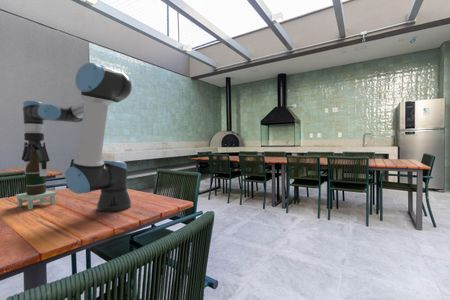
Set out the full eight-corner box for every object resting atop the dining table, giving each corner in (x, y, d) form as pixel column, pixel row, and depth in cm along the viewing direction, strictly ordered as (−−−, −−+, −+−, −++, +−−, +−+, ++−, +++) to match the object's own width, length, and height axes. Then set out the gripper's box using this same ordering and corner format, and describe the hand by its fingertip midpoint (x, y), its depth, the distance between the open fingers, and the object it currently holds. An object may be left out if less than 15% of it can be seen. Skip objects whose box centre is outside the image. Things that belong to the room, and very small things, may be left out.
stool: (56, 203, 119) (56, 192, 119) (28, 210, 108) (28, 197, 108) (43, 200, 124) (43, 189, 124) (15, 206, 114) (15, 194, 113)
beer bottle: (22, 194, 113) (20, 146, 112) (37, 191, 121) (36, 145, 119) (35, 195, 112) (33, 146, 110) (50, 192, 119) (48, 145, 118)
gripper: (57, 132, 113) (58, 175, 114) (29, 133, 123) (31, 172, 124) (39, 132, 106) (40, 178, 107) (12, 132, 117) (13, 174, 118)
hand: (35, 175), depth 116 cm, fingers open, 13 cm apart
